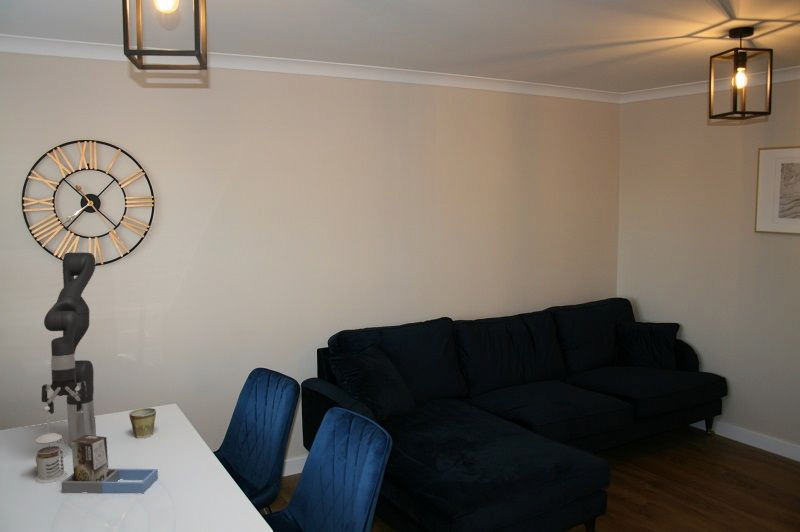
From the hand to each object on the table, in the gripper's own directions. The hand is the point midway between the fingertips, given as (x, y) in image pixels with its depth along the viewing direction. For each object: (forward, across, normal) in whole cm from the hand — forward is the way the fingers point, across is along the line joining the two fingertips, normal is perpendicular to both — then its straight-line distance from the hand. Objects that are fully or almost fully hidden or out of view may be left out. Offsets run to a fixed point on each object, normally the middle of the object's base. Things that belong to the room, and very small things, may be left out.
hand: (65, 412), depth 226 cm
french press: (+20, +3, +8) cm, 22 cm away
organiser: (+21, -18, +22) cm, 35 cm away
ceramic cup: (+18, -23, -26) cm, 39 cm away
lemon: (+20, +7, +1) cm, 21 cm away
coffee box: (+21, -12, +20) cm, 31 cm away
